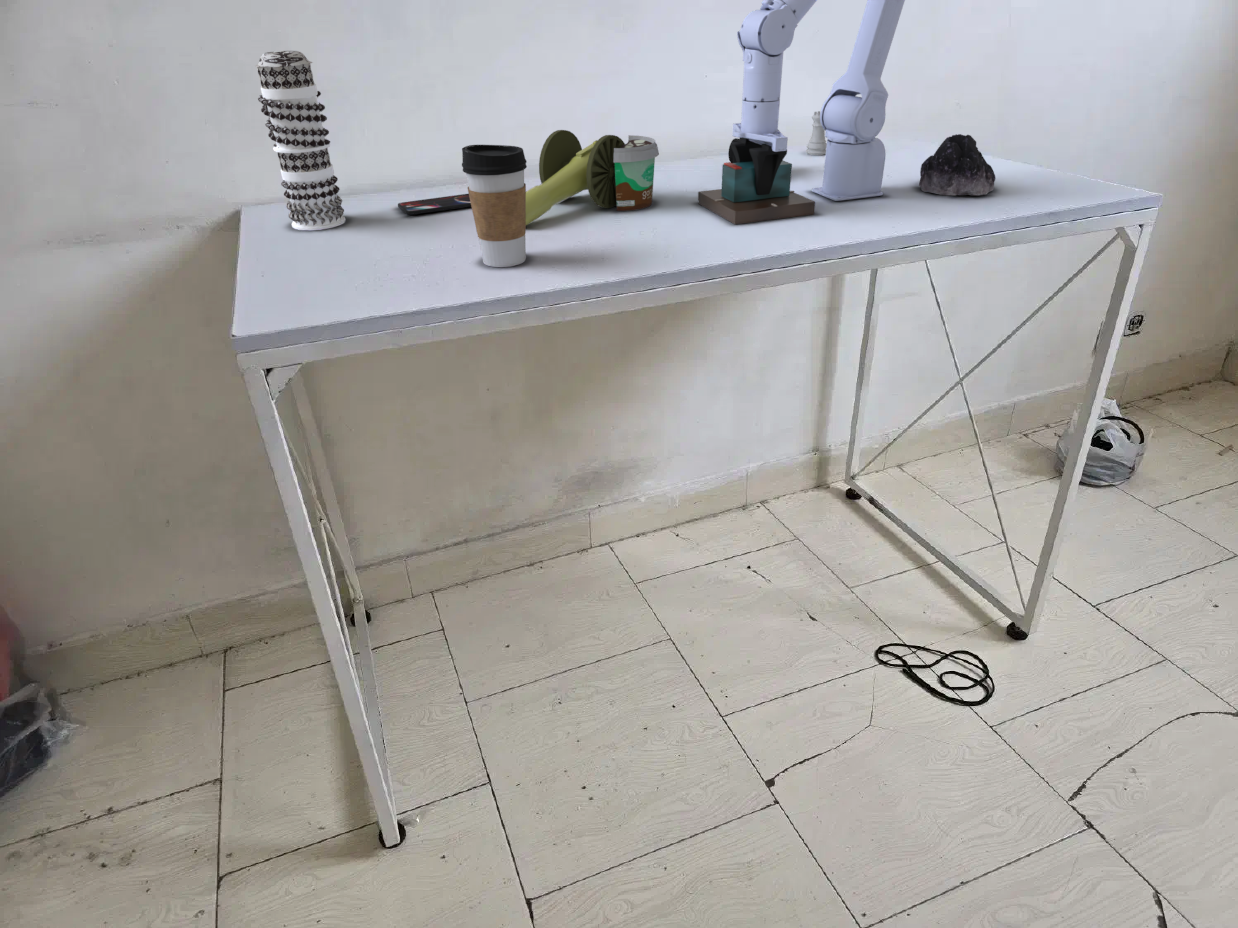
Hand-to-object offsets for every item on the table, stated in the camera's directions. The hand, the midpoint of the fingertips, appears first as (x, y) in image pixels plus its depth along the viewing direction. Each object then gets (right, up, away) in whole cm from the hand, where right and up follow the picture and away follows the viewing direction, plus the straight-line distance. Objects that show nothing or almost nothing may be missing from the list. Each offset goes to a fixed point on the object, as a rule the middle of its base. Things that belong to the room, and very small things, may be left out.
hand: (755, 190), depth 130 cm
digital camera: (+3, +10, +22) cm, 25 cm away
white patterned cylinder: (-71, -5, +1) cm, 72 cm away
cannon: (-31, -2, +4) cm, 31 cm away
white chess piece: (+19, +20, +38) cm, 47 cm away
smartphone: (-52, 0, +8) cm, 53 cm away
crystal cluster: (+36, +3, +9) cm, 37 cm away
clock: (0, -2, +2) cm, 3 cm away
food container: (-18, 0, +6) cm, 19 cm away
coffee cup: (-38, -16, -18) cm, 45 cm away
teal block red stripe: (0, -1, 0) cm, 1 cm away
